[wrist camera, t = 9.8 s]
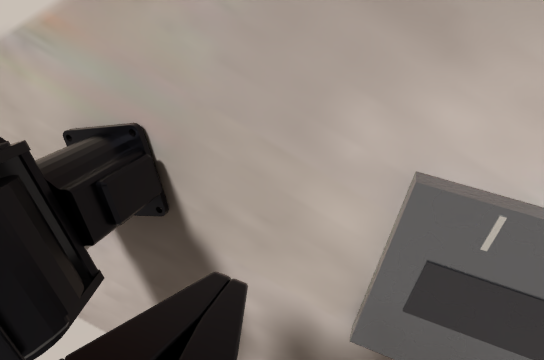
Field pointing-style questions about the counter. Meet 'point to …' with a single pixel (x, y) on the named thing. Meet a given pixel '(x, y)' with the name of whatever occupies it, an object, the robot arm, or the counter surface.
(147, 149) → the robot arm
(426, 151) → the counter surface
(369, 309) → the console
